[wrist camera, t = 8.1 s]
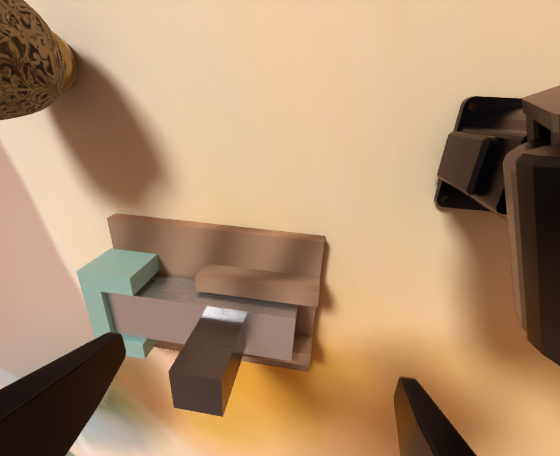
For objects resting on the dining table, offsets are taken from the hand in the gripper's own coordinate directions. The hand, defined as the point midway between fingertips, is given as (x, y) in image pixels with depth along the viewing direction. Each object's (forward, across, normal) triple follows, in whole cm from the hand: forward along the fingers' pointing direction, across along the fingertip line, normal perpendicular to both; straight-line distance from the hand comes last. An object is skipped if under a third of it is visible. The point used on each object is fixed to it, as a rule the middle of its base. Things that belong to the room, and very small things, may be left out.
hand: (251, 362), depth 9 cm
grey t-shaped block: (+11, +6, +8) cm, 15 cm away
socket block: (+12, +13, +7) cm, 19 cm away
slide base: (+13, +6, +8) cm, 16 cm away
